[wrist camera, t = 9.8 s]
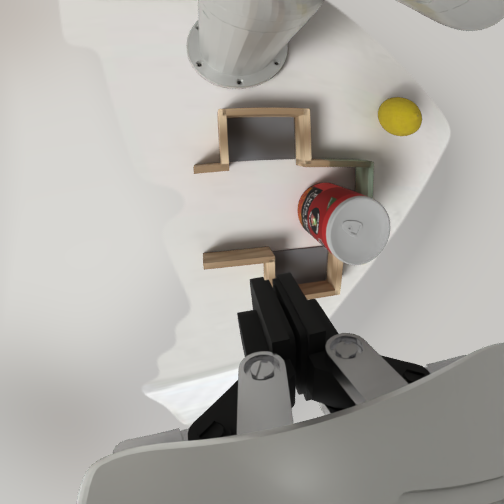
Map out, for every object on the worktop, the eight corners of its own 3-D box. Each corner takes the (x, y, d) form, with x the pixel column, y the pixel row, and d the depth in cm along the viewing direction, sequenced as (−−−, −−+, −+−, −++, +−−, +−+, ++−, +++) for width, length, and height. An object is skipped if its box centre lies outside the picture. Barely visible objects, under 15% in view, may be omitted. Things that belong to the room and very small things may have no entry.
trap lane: (191, 115, 31) (190, 111, 28) (359, 116, 34) (373, 114, 31) (208, 299, 40) (209, 312, 37) (352, 280, 43) (362, 290, 40)
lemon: (402, 123, 35) (437, 123, 28) (381, 142, 36) (416, 145, 28) (384, 93, 33) (418, 87, 26) (361, 111, 34) (394, 107, 26)
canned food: (297, 179, 36) (333, 194, 26) (350, 184, 37) (396, 199, 27) (293, 234, 39) (323, 267, 29) (343, 235, 40) (384, 264, 30)
